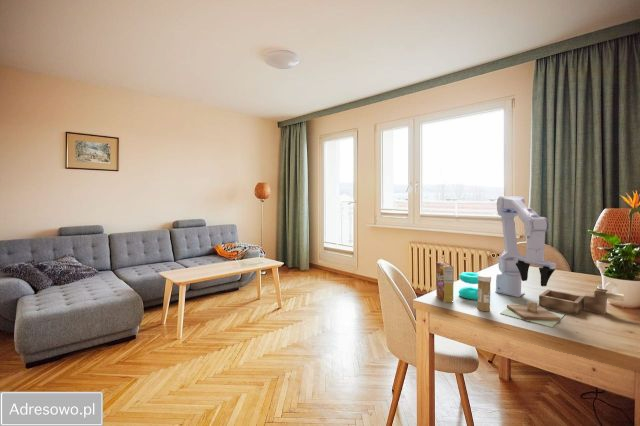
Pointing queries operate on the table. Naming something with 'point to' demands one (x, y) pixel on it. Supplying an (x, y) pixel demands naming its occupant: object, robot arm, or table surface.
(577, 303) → the toolbox
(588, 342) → the table surface
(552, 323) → the mat
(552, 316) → the lid
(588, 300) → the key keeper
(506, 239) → the robot arm
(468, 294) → the donuts
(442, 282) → the candy box
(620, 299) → the cream rectangular bar
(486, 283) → the sprinkles bottle
